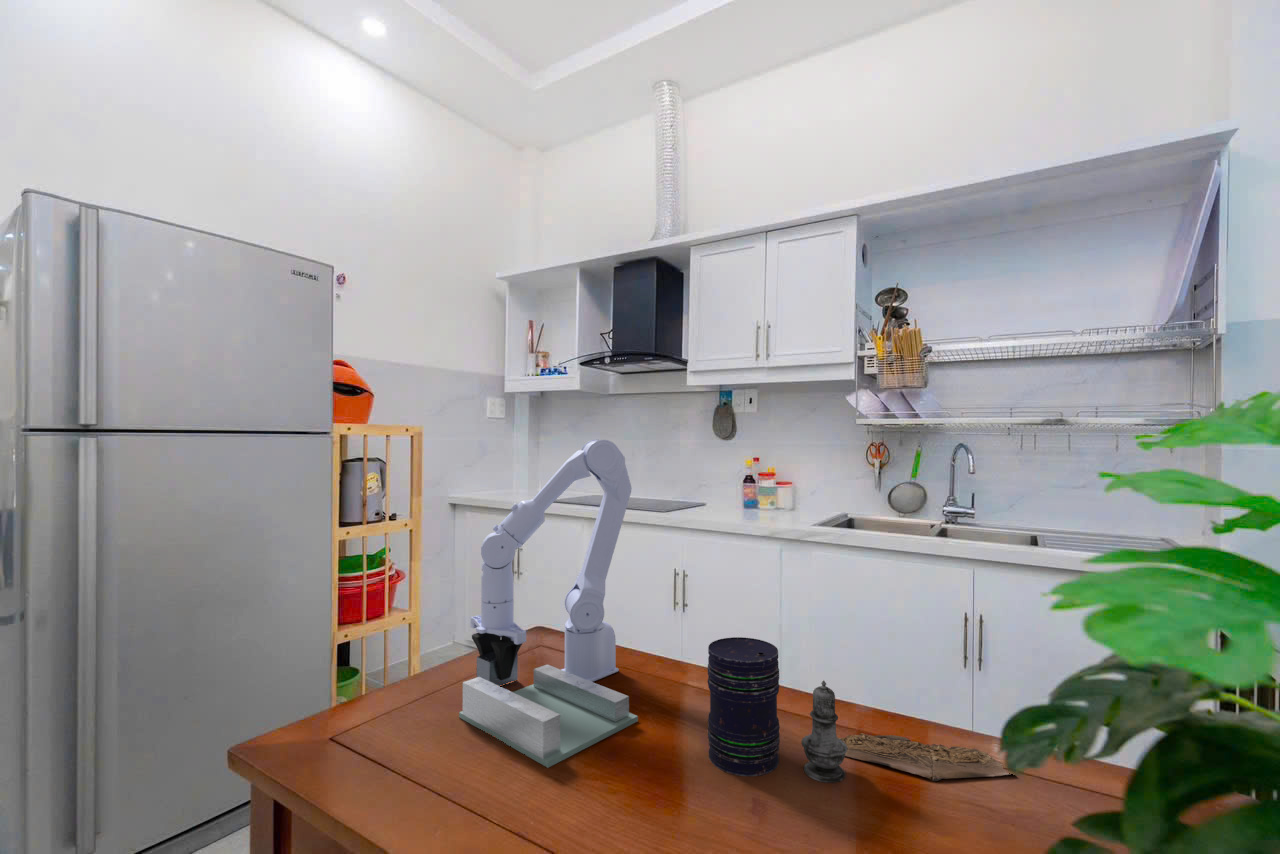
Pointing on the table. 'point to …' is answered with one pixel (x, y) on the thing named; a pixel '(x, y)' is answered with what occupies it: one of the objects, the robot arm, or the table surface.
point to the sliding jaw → (582, 692)
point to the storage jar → (743, 706)
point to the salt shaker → (824, 739)
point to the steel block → (494, 669)
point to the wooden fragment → (922, 757)
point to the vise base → (569, 725)
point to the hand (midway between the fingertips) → (497, 674)
